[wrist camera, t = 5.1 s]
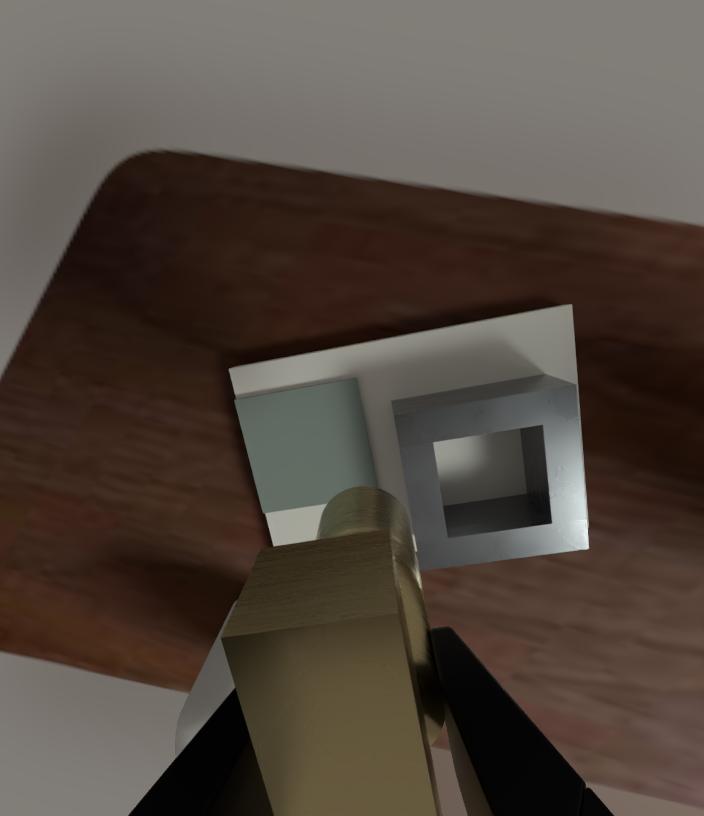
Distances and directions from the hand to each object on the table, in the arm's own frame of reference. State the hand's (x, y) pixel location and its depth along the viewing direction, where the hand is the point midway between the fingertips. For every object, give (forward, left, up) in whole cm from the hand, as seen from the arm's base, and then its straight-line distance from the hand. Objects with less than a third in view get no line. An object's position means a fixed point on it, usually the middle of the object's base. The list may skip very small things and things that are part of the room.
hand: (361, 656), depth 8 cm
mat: (+3, -1, -13) cm, 13 cm away
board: (-2, 0, -14) cm, 14 cm away
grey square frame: (-5, +1, -13) cm, 14 cm away
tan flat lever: (0, 0, -5) cm, 5 cm away
